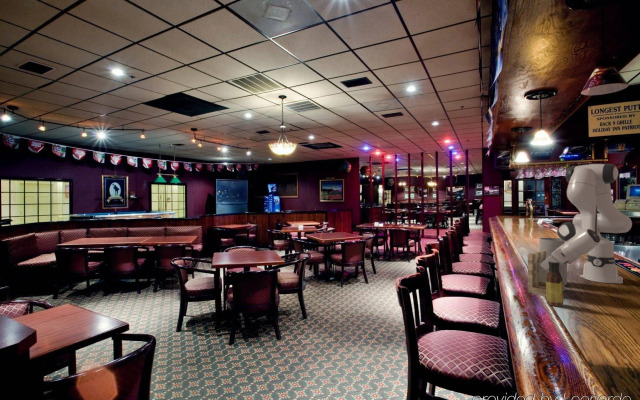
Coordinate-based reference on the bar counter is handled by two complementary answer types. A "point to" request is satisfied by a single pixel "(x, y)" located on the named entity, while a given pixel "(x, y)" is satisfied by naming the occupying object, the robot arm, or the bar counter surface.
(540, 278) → the beige block
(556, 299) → the sauce bottle
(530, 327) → the bar counter surface
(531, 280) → the back board shelf
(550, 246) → the cylinder vase
